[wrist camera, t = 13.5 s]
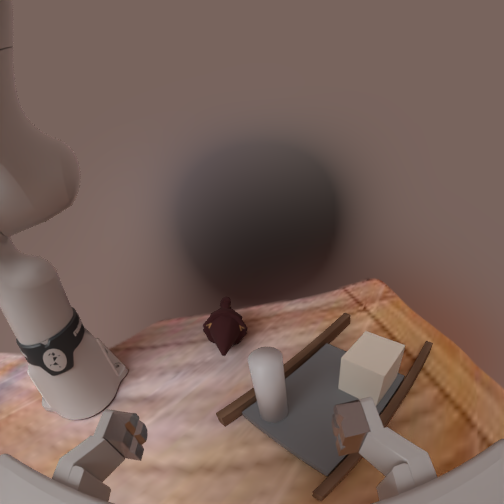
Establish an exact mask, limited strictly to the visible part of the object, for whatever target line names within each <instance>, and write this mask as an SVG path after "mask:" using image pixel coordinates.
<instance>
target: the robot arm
mask: <svg viewBox="0 0 504 504" xmlns="http://www.w3.org/2000/svg"><path fill="white" fill-rule="evenodd" d="M79 187H80V167H79V163H78V160H77V158H76V155H75V153H74V152H73V150H72V149H71V148H70V147H69V146H68V145H67V144H66V143H64V142H63V141H61V140H59V139H56V138H53V137H51V136H49V135H47V134H45V133H43V132H42V131H40V130H39V129H38V128H37V127H35V126H34V125H33V123H31V121H30V120H29V119H28V118H27V116H26V115H25V113H24V111H23V110H22V108H21V105H20V102H19V99H18V95H17V91H16V85H15V78H14V66H13V5H12V0H0V308H1V310H2V312H3V314H4V316H5V318H6V319H7V321H8V323H9V325H10V327H11V329H12V330H13V332H14V334H15V336H16V338H17V339H16V340H17V344H18V346H19V348H20V351H21V353H22V354H23V356H25V358H26V360H27V361H28V362H29V365H28V374H29V376H30V378H31V379H32V381H33V383H34V384H35V386H36V387H37V389H38V390H39V392H40V393H41V395H42V396H43V397H42V406H43V407H44V409H45V410H47V411H52V412H56V413H58V414H59V415H61V416H62V417H64V418H67V419H71V420H80V419H85V418H89V417H91V416H93V415H95V414H97V413H99V412H100V411H102V410H103V409H104V408H105V407H106V406H107V405H108V404H109V403H110V402H111V401H112V399H113V398H114V396H115V394H116V392H117V389H118V386H119V383H120V381H121V380H122V379H123V378H124V377H125V375H126V374H127V372H128V370H127V368H126V367H125V365H124V364H123V363H122V362H121V361H120V360H119V359H118V358H117V357H116V356H115V355H114V354H113V353H112V352H111V351H110V350H109V349H108V348H107V347H106V346H105V345H104V344H103V343H102V342H101V341H100V340H99V339H98V338H94V336H93V335H92V334H91V333H90V332H89V331H88V330H87V329H85V328H84V326H83V324H82V322H81V319H80V317H79V315H78V314H77V312H76V311H75V309H74V308H72V307H71V305H70V303H69V300H68V298H67V296H66V293H65V291H64V288H63V286H62V283H61V281H60V278H59V275H58V273H57V270H56V269H55V267H54V266H53V265H52V264H51V263H50V262H49V261H48V260H46V259H44V258H42V257H39V256H34V255H27V254H24V253H22V252H21V251H19V250H18V249H17V248H16V247H15V246H14V244H13V242H12V241H11V238H10V236H12V235H14V234H17V233H19V232H21V231H24V230H26V229H29V228H31V227H33V226H36V225H38V224H41V223H43V222H46V221H48V220H49V219H51V218H53V217H54V216H56V215H57V214H59V213H61V212H62V211H64V210H65V209H67V208H68V207H70V206H72V205H73V203H74V201H75V199H76V196H77V194H78V191H79ZM333 411H334V414H333V415H332V430H333V434H334V435H335V436H336V437H337V440H336V447H337V451H338V455H339V456H343V455H347V454H352V453H356V452H359V454H361V455H362V456H363V457H364V458H365V459H366V460H367V461H368V462H370V463H371V464H372V465H373V466H374V467H375V468H377V469H378V470H379V471H380V472H381V473H383V474H384V475H385V476H386V477H385V478H384V479H383V480H382V481H381V482H380V483H379V485H378V486H377V487H376V488H377V492H378V496H379V500H380V501H379V502H375V503H372V504H504V439H500V440H498V441H497V442H495V443H494V444H493V445H491V446H490V447H488V448H487V449H485V450H484V451H482V452H481V453H479V454H478V455H476V456H475V457H473V458H471V459H470V460H468V461H467V462H465V463H463V464H461V465H460V466H458V467H456V468H454V469H453V470H451V471H449V472H447V473H445V474H443V475H441V476H439V477H437V475H436V472H435V470H434V467H433V465H432V462H431V460H430V457H429V455H428V452H426V451H424V450H423V449H421V448H419V447H418V446H416V445H415V444H413V443H411V442H410V441H408V440H407V439H405V438H403V437H402V436H400V435H399V434H397V433H396V432H394V431H393V430H391V429H390V428H388V427H386V428H384V426H383V424H382V421H381V419H380V416H379V413H378V411H377V408H376V406H375V403H374V401H373V399H372V398H371V397H366V398H362V399H359V400H354V401H350V402H345V403H341V404H337V405H334V408H333ZM146 440H147V428H146V426H145V424H144V423H143V422H141V421H139V416H138V415H137V414H136V413H128V412H120V411H115V410H108V409H106V410H105V411H104V412H103V414H102V416H101V419H100V421H99V423H98V426H97V428H96V431H95V433H94V436H90V437H88V438H87V439H86V440H84V441H83V442H82V443H80V444H79V445H78V446H76V447H75V448H74V449H72V450H71V451H69V452H68V453H67V454H65V455H64V456H63V457H61V458H60V459H59V462H58V464H57V467H56V469H55V472H54V475H53V477H52V479H51V478H49V477H47V476H45V475H43V474H41V473H40V472H38V471H36V470H34V469H32V468H31V467H29V466H27V465H25V464H24V463H22V462H20V461H19V460H17V459H16V458H14V457H12V456H11V455H9V454H2V455H0V504H114V503H110V502H108V500H109V496H110V492H111V489H110V487H108V486H107V485H105V484H104V483H102V482H103V481H104V480H105V479H106V478H107V477H108V476H109V475H110V474H111V473H112V472H113V471H114V470H115V469H116V468H117V467H118V466H119V465H120V464H121V463H122V462H123V461H124V460H125V458H128V459H134V460H140V461H141V459H142V455H143V451H144V448H143V446H142V444H143V443H145V442H146Z"/></svg>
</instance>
